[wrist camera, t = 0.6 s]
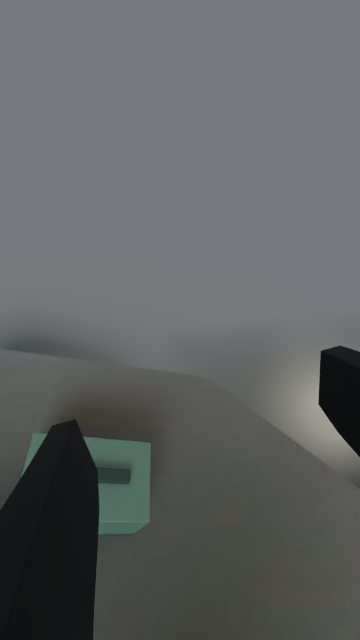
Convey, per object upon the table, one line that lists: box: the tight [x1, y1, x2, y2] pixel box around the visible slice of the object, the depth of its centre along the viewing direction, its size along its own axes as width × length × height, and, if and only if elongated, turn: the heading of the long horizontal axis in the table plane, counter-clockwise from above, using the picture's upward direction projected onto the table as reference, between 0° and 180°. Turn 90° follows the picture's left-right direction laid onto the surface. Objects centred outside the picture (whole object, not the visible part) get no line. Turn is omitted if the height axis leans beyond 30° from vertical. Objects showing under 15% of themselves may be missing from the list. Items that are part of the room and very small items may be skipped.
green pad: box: [21, 432, 151, 534], centre depth 21 cm, size 5×8×4 cm, turn 93°
